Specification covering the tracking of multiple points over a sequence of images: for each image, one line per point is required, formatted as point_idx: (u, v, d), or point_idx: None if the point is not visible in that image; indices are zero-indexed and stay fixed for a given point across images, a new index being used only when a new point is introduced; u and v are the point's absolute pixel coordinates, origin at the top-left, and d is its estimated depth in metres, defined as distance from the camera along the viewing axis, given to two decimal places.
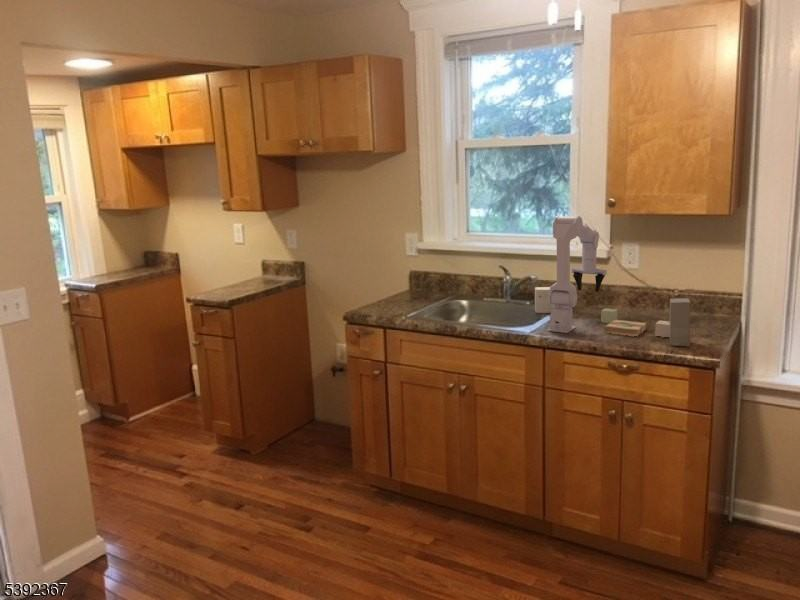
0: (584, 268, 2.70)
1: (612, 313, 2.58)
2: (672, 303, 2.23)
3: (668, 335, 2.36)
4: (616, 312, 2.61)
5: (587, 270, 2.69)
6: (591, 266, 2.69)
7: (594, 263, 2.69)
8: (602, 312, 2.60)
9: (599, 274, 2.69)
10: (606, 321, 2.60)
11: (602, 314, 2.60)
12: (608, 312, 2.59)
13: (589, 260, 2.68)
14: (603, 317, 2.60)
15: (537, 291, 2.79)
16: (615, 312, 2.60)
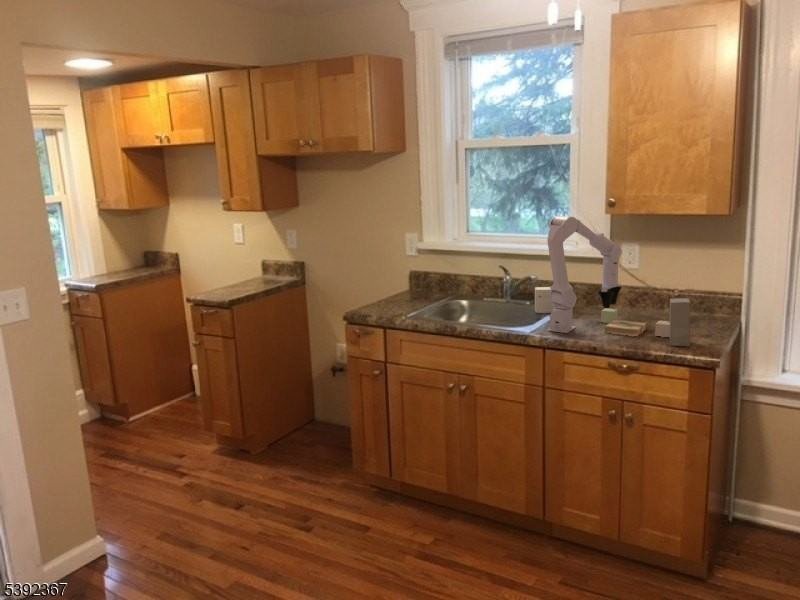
0: None
1: (612, 313, 2.58)
2: (672, 303, 2.23)
3: (668, 335, 2.36)
4: (616, 312, 2.61)
5: (602, 283, 2.60)
6: (603, 280, 2.58)
7: (605, 277, 2.57)
8: (602, 312, 2.60)
9: None
10: (606, 321, 2.60)
11: (602, 314, 2.60)
12: (608, 312, 2.59)
13: None
14: (603, 317, 2.60)
15: (537, 291, 2.79)
16: (615, 312, 2.60)
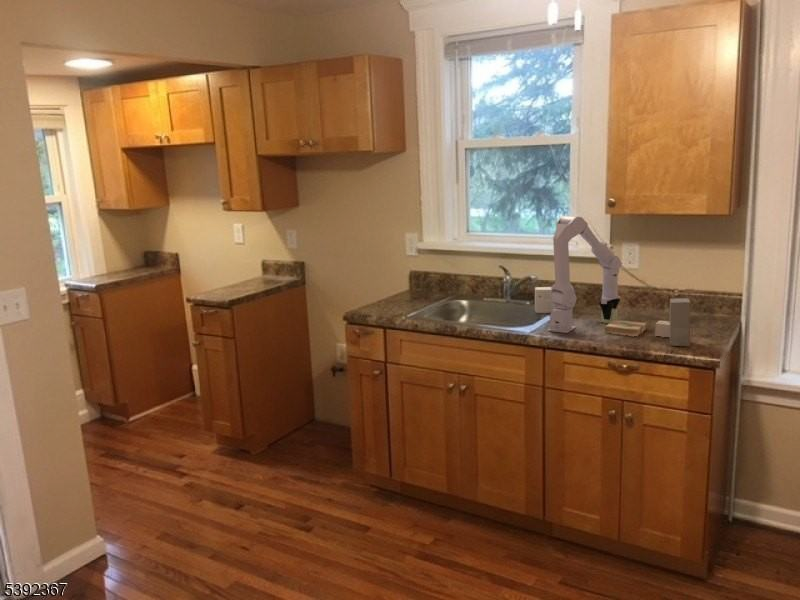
0: None
1: (612, 313, 2.58)
2: (672, 303, 2.23)
3: (668, 335, 2.36)
4: (616, 312, 2.61)
5: (602, 295, 2.61)
6: (603, 292, 2.59)
7: (605, 289, 2.58)
8: (602, 312, 2.60)
9: None
10: (606, 321, 2.60)
11: (602, 314, 2.60)
12: None
13: None
14: None
15: (537, 291, 2.79)
16: (615, 312, 2.60)
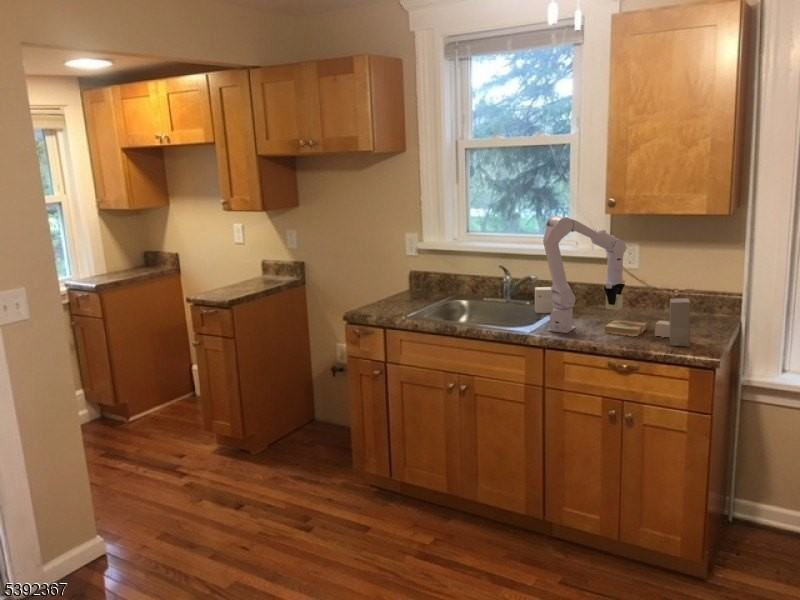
0: None
1: (617, 299, 2.53)
2: (672, 303, 2.23)
3: (668, 335, 2.36)
4: (621, 298, 2.55)
5: (606, 280, 2.56)
6: (607, 276, 2.54)
7: (610, 274, 2.52)
8: (607, 298, 2.55)
9: None
10: (611, 307, 2.55)
11: (607, 300, 2.55)
12: None
13: (607, 269, 2.54)
14: None
15: (537, 291, 2.79)
16: (620, 298, 2.54)
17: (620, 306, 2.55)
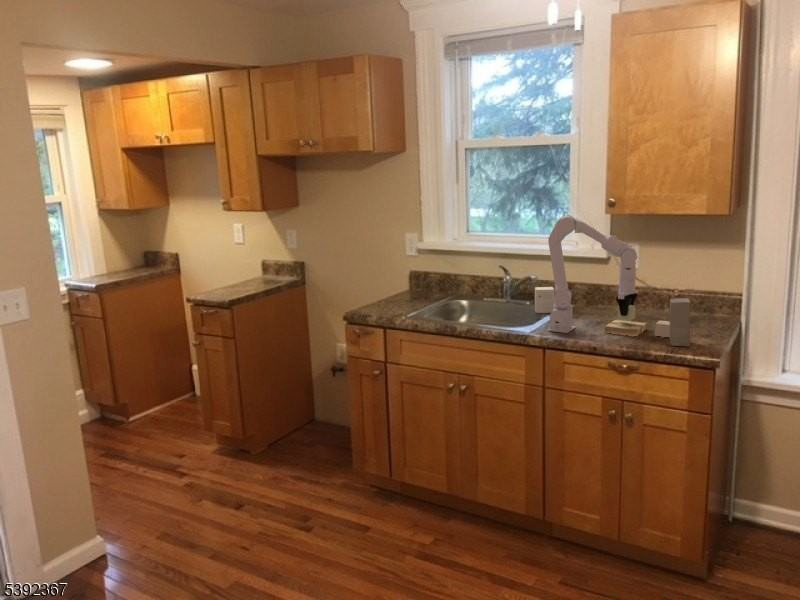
0: None
1: (629, 310, 2.42)
2: (672, 303, 2.23)
3: (668, 335, 2.36)
4: (634, 308, 2.45)
5: None
6: (619, 286, 2.44)
7: (622, 284, 2.42)
8: None
9: None
10: (623, 318, 2.45)
11: (619, 310, 2.45)
12: None
13: (619, 279, 2.44)
14: None
15: (537, 291, 2.79)
16: (633, 308, 2.44)
17: (633, 317, 2.45)
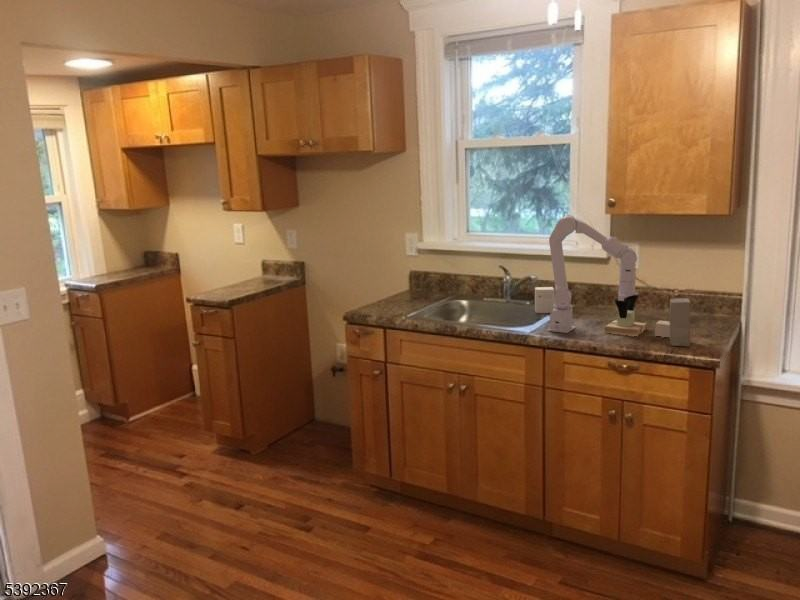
0: None
1: (629, 315, 2.43)
2: (672, 303, 2.23)
3: (668, 335, 2.36)
4: (633, 314, 2.46)
5: None
6: (619, 288, 2.44)
7: (622, 286, 2.42)
8: None
9: None
10: (623, 323, 2.45)
11: (619, 316, 2.45)
12: None
13: (619, 281, 2.44)
14: (620, 319, 2.45)
15: (537, 291, 2.79)
16: (632, 314, 2.45)
17: (632, 322, 2.46)
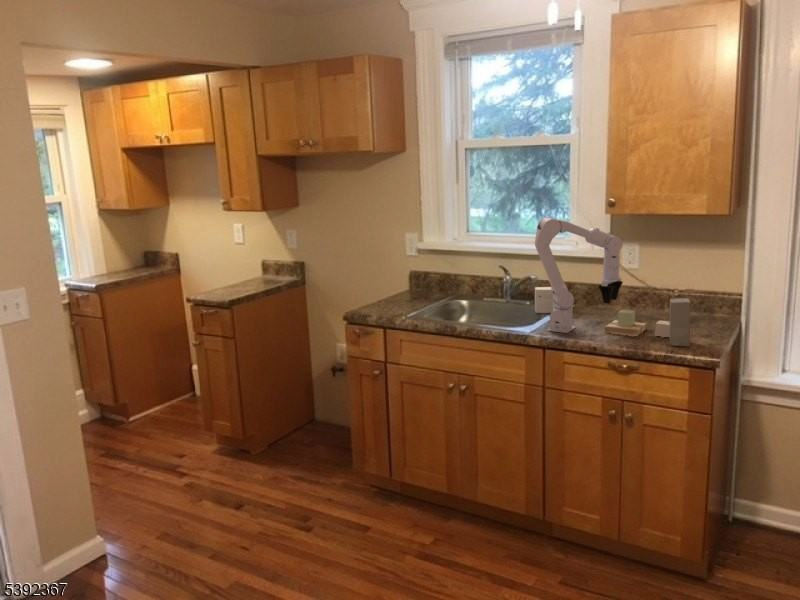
0: None
1: (630, 315, 2.43)
2: (672, 303, 2.23)
3: (668, 335, 2.36)
4: (634, 314, 2.46)
5: (603, 277, 2.51)
6: (604, 274, 2.49)
7: (606, 272, 2.48)
8: (619, 314, 2.45)
9: None
10: (623, 323, 2.45)
11: (619, 316, 2.45)
12: (626, 314, 2.44)
13: None
14: (620, 319, 2.45)
15: (537, 291, 2.79)
16: (633, 314, 2.45)
17: (633, 322, 2.46)
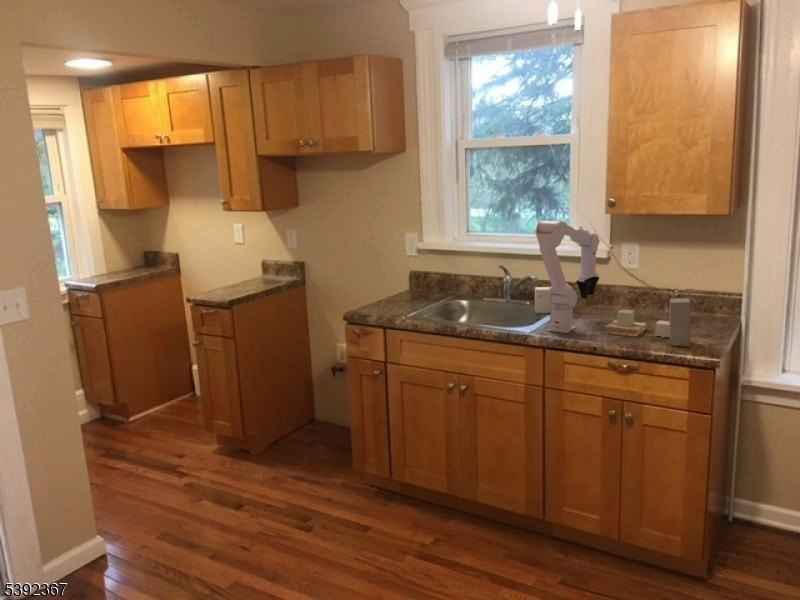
0: None
1: (629, 315, 2.43)
2: (672, 303, 2.23)
3: (668, 335, 2.36)
4: (633, 314, 2.46)
5: None
6: (581, 270, 2.60)
7: (583, 268, 2.58)
8: (618, 314, 2.45)
9: None
10: (623, 323, 2.45)
11: (618, 316, 2.45)
12: (625, 314, 2.44)
13: None
14: (620, 319, 2.45)
15: (537, 291, 2.79)
16: (632, 314, 2.45)
17: (632, 322, 2.46)
